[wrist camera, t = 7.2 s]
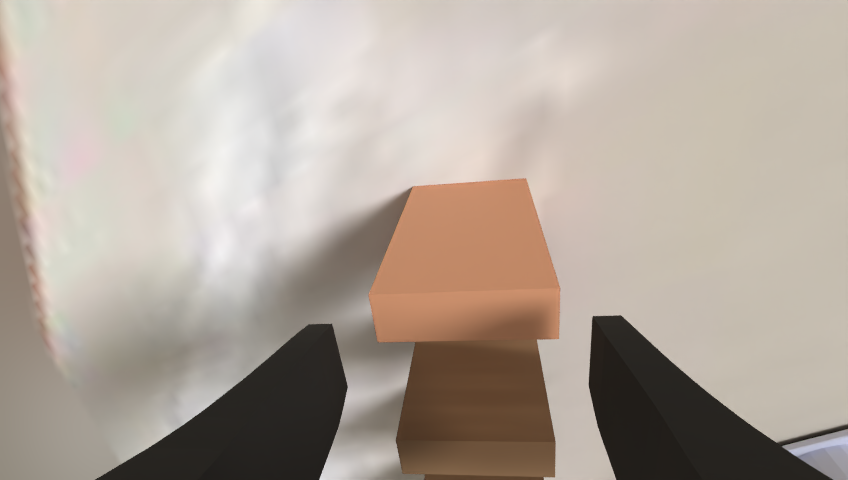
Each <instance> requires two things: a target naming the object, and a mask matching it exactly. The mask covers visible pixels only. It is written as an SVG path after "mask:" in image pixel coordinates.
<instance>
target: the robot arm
mask: <svg viewBox="0 0 848 480" xmlns="http://www.w3.org/2000/svg"><path fill="white" fill-rule="evenodd" d="M347 388H348V386H347V382H346V378H345V374H344V370H343V366H342V362H341V358H340V354H339V350H338V346H337V342H336V338H335V334H334V330H333V326H332V324H311V325H308V326H306V327H305V328H304V329H302V330H301V331H300V332H299V333H297V334H296V335H295V336H294V337H293V338H291V339H290V340H289V341H288V342H287V343H286V344H284V345H283V346H282V347H281V348H280V349H279V350H277V351H276V352H275V353H274V354H273V355H272V356H271V357H269V358H268V359H267V360H266V361H265V362H263V363H262V364H261V365H260V366H259V367H257V368H256V369H255V370H254V371H253V372H252V373H250V374H249V375H248V376H247V377H246V378H244V379H243V380H242V381H241V382H239V383H238V384H237V385H236V386H234V387H233V388H232V389H230V390H229V391H228V392H227V393H225V394H224V395H223V396H222V397H220V398H219V399H218V400H216V401H215V402H214V403H213V404H211V405H210V406H209V407H207V408H206V409H205V410H203V411H202V412H201V413H199V414H198V415H197V416H195V417H194V418H192V419H191V420H190V421H188V422H187V423H185V424H184V425H183V426H181V427H180V428H178V429H177V430H175V431H174V432H172V433H171V434H169V435H168V436H166V437H165V438H163V439H162V440H160V441H159V442H157V443H156V444H154V445H152V446H151V447H149V448H148V449H146V450H144V451H143V452H141V453H139V454H138V455H136V456H134V457H133V458H131V459H129V460H128V461H126V462H124V463H123V464H121V465H119V466H118V467H116V468H114V469H112V470H111V471H109V472H107V473H106V474H104V475H103V476H101V477H99V478H97V479H96V480H319V479H320V476H321V473H322V470H323V468H324V465H325V462H326V460H327V457H328V454H329V452H330V449H331V446H332V443H333V441H334V438H335V435H336V432H337V429H338V426H339V423H340V419H341V415H342V410H343V406H344V402H345V397H346V392H347ZM589 389H590V393H591V398H592V403H593V407H594V412H595V416H596V420H597V424H598V428H599V431H600V434H601V437H602V440H603V443H604V446H605V449H606V451H607V454H608V457H609V460H610V463H611V466H612V468H613V471H614V474H615V477H616V480H848V429H846V430H842V431H838V432H834V433H830V434H827V435H823V436H819V437H815V438H811V439H807V440H803V441H799V442H795V443H792V444H788V445H784V446H780V445H779V444H777V443H776V442H774V441H773V440H771V439H770V438H768V437H767V436H766V435H764V434H763V433H761V432H760V431H758V430H757V429H755V428H754V427H753V426H751V425H750V424H748V423H747V422H746V421H744V420H743V419H741V418H740V417H739V416H737V415H736V414H735V413H734V412H732V411H731V410H730V409H728V408H727V407H726V406H724V405H723V404H722V403H721V402H719V401H718V400H717V399H715V398H714V397H713V396H712V395H710V394H709V393H708V392H706V391H705V390H704V389H703V388H702V387H700V386H699V385H698V384H697V383H695V382H694V381H693V380H692V379H691V378H690V377H688V376H687V375H686V374H685V373H684V372H683V371H681V370H680V369H679V368H678V367H677V366H676V365H674V364H673V363H672V362H671V361H670V360H669V359H668V358H667V357H665V356H664V355H663V354H662V353H661V352H660V351H659V350H658V349H657V348H656V347H655V346H653V345H652V344H651V343H650V342H649V341H648V340H647V339H646V338H645V337H644V336H643V335H642V334H641V333H639V332H638V331H637V330H636V329H635V328H634V327H633V326H632V325H631V324H630V323H629V322H628V321H626V320H625V319H624V318H623V317H622V316H593V318H592V336H591V354H590V371H589Z"/></svg>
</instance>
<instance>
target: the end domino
mask: <svg viewBox="0 0 848 480" xmlns="http://www.w3.org/2000/svg"><path fill="white" fill-rule="evenodd" d="M369 300H370V305H371V310H372V315H373V321H374V326H375V331H376V336H377V341H378V342H422V341H477V340H532V339H559V313H560V286H559V283H558V280H557V277H556V273H555V270H554V267H553V264H552V260H551V257H550V254H549V251H548V248H547V244H546V241H545V238H544V235H543V232H542V228H541V225H540V222H539V219H538V215H537V212H536V209H535V206H534V203H533V199H532V196H531V193H530V190H529V186H528V183H527V180H526V179H512V180H498V181H484V182H470V183H456V184H442V185H428V186H414V187H413V188H412V190H411V193H410V195H409V198H408V200H407V202H406V205H405V207H404V210H403V212H402V215H401V217H400V219H399V222H398V224H397V227H396V229H395V232H394V234H393V236H392V239H391V241H390V244H389V246H388V249H387V251H386V253H385V256H384V258H383V261H382V263H381V266H380V268H379V270H378V273H377V275H376V278H375V280H374V283H373V285H372V287H371V290H370V292H369Z"/></svg>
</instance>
